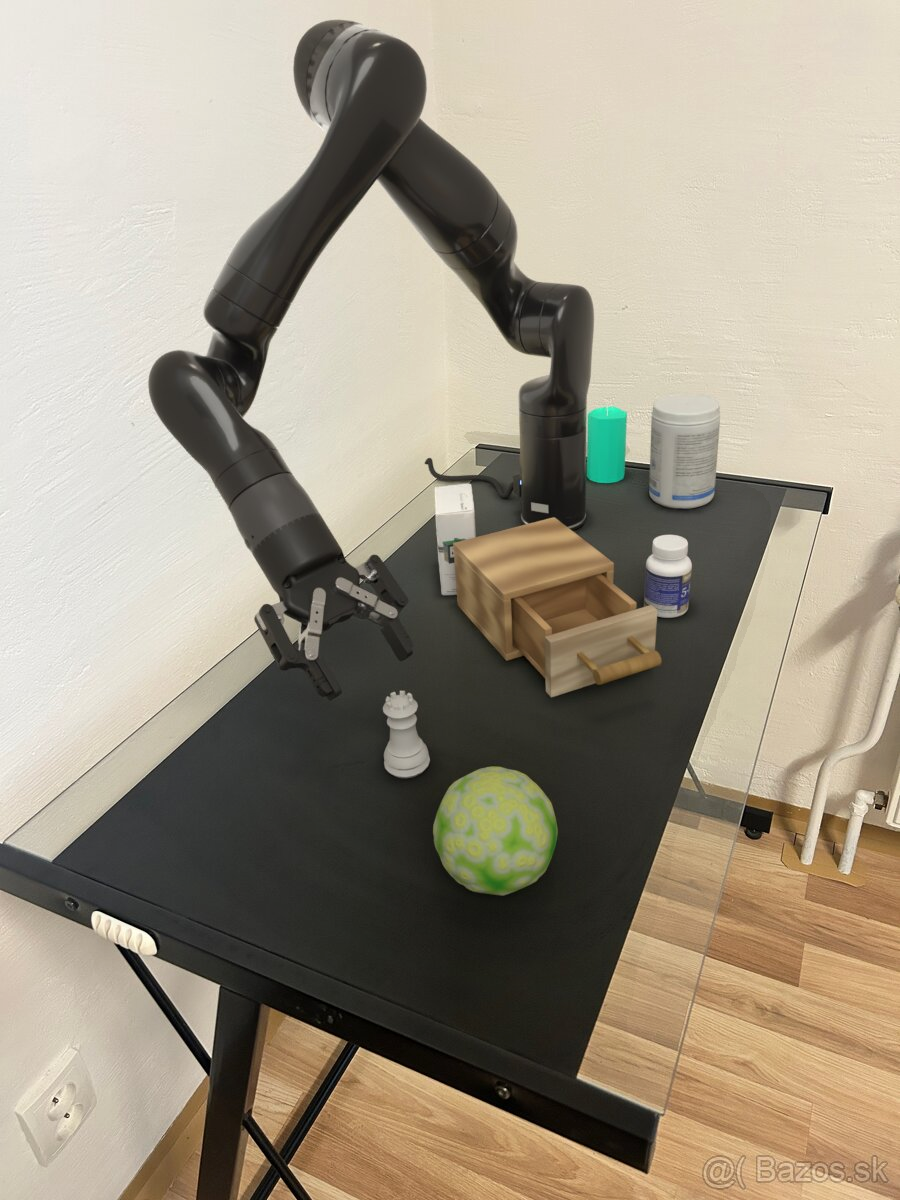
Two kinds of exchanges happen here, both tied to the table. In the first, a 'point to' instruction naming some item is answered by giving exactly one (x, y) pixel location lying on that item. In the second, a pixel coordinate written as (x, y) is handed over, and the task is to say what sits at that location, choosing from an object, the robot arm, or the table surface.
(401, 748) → the rook chess piece
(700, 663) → the table surface
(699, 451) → the supplement tub
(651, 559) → the pill bottle
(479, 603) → the cabinet
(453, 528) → the ink box
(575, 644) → the drawer
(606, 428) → the candle
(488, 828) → the decorative ball
